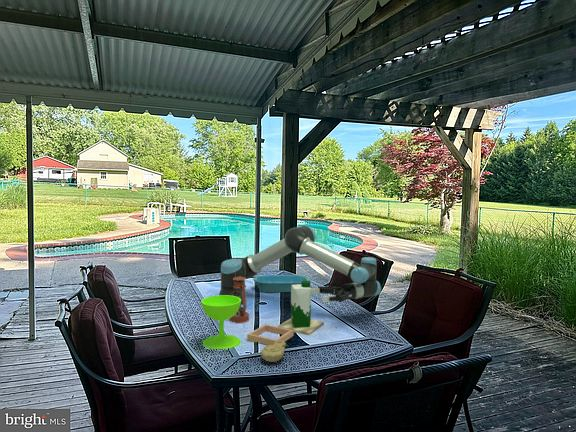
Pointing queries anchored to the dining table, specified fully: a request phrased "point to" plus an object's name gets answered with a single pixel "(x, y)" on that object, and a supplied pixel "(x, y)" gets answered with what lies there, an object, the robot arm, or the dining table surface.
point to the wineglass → (221, 319)
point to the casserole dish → (278, 282)
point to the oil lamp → (273, 351)
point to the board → (303, 330)
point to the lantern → (241, 314)
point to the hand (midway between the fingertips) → (314, 295)
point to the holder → (268, 341)
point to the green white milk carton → (301, 304)
